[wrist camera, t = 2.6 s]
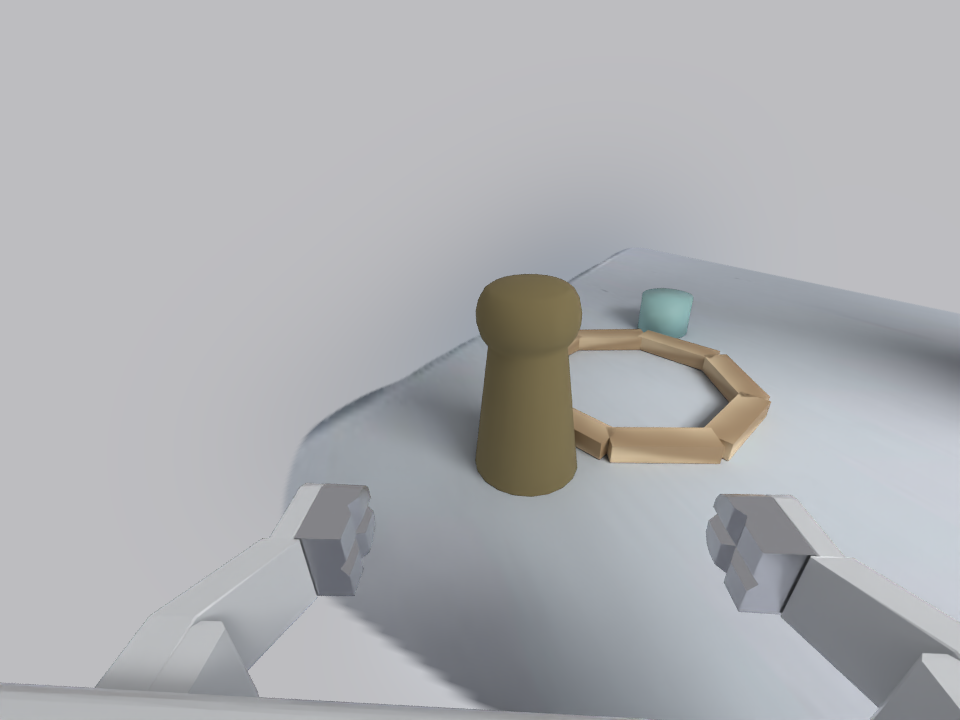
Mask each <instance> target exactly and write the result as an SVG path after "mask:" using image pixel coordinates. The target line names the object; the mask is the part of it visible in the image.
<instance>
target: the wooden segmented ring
mask: <svg viewBox="0 0 960 720" xmlns="http://www.w3.org/2000/svg"><path fill="white" fill-rule="evenodd" d="M578 350H643V351H646V352H649V353H652V354H655V355H658V356H661V357H664V358H667V359H670V360H673V361H676V362H679V363H682V364H685V365H688V366H691V367H694V368H697V369H700V370H702V371H703V372H704V373H705V374H706V376H707V377H708V378H709V379H710V380H711V381H712V383H713V384H714V385H715V386H716V387H717V389H718V390H719V391H720V392H721V393H722V394H723V396H724V397H725V398H726V399H727V400H728V401H729V404H728V405H727V406H726V407H725V408H724V409H723V410H721V411H720V412H719V413H718V414H717V415H716V416H715V417H714V418H713V419H712V420H711V421H710V422H709V423H708V424H707V425H706V426H705V427H704V428H663V427H611V426H609V425H607V424H605V423H603V422H601V421H599V420H597V419H595V418H593V417H591V416H589V415H587V414H584V413H582V412H580V411H578V410H576V409H574V408H573V421H574V434H575V446H576V447H578V448H579V449H581V450H583V451H585V452H586V453H588V454H590V455H592V456H594V457H595V458H597V459H599V460H600V459H601V458H602V457H603V456H605V455H606V454H608V458H609V461H610V463H707V464H720V462H721V458H723V459H725V460H728V461H729V460H730V458H731V457H732V456H733V455H734V454H735V453H736V451H737V450H738V449H739V448H740V447H741V445H742V444H743V443H744V442H745V441H746V440H747V438H748V437H749V436H750V435H751V434H752V433H753V431H754V430H755V429H756V428H757V427H758V426H759V424H760V423H761V422H762V421H763V420H764V418H765V417H766V415H767V412H768V409H769V406H770V403H771V401H769V398H770V396H769V395H767V394H766V393H765V392H764V391H763V390H762V389H761V388H760V387H759V386H758V385H757V384H756V383H755V382H754V381H753V380H752V379H751V378H750V377H749V376H748V375H747V374H746V373H745V372H744V371H743V370H742V369H741V368H740V367H739V366H738V365H737V364H736V363H735V362H734V361H733V360H732V359H731V358H730V357H729V356H728V355H719V354H720V351H717V350H714V349H711V348H707V347H704V346H700V345H697V344H694V343H690V342H687V341H683V340H680V339H677V338H673V337H670V336H667V335H663V334H660V333H656V332H653V331H650V330H647V331H646V332H644V333H643V331H642V330H641V329H606V330H579V332H578V335H577V337H576V338H575V339H574V341H573V342H572V343H571V344H570V346H569V347H568V355H570V354H572V353H574V352H576V351H578Z"/></svg>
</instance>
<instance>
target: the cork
mask: <svg viewBox="0 0 960 720" xmlns="http://www.w3.org/2000/svg"><path fill="white" fill-rule="evenodd" d="M581 320H582V309H581V303H580V298H579V295H578V294H577V292H576V290H575V288H574V287H573V286H572V285H570V284H569V283H567V282H566V281H564V280H562V279H559V278H557V277H553V276H548V275H538V274H521V275H512V276H506V277H503V278H500V279H497V280H495V281H493V282H492V283H490V284H489V285H487V286H486V287H485V288H484V290H483V292H482V293H481V295H480V297H479V299H478V303H477V307H476V322H477V326H478V329H479V332H480V335H481V337H482V339H483V341H484V342H485V343H486V344H487V345H488V351H487V360H486V369H485V378H484V387H483V396H482V405H481V414H480V423H479V432H478V441H477V450H476V459H475V461H476V465H477V470H478V472H479V473H480V475H481V476H482V477H483V479H484V480H485V481H486V482H487V483H489V484H490V485H492V486H493V487H495V488H496V489H497V490H500V491H503V492H506V493H509V494H512V495H518V496H530V497H532V496H539V495H546V494H550V493H552V492H554V491H556V490H559V489H561V488H563V487H564V486H565V485H566V484H567V483H568V482H569V481H571V480H572V479H573V476H574V474H575V472H576V469H577V460H576V447H575V434H574V421H573V408H572V395H571V382H570V369H569V356H568V347H569V346H570V344H571V343H572V342H573V341H574V339H575V338H576V337H577V335H578V332H579V329H580V326H581Z"/></svg>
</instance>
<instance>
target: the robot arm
mask: <svg viewBox="0 0 960 720" xmlns="http://www.w3.org/2000/svg"><path fill="white" fill-rule="evenodd" d="M370 498H371V496H370V492H369V488H368V487H367V486H363V485H343V484H314V483H305V484H304V485H302V486H301V487H300V488H299V490H298V491H297V493H296V494H295V496H294V498H293V499H292V501H291V503H290V504H289V506H288V508H287V509H286V511H285V513H284V514H283V516H282V517H281V519H280V521H279V522H278V524H277V526H276V527H275V529H274V531H273V532H272V534H271V536H270V537H269V538H262V539H261V540H259V541H258V542H256V543H255V544H254V545H252V546H250V547H249V548H248V549H246V550H245V551H243V552H242V553H240V554H239V555H238V556H236V557H234V558H233V559H232V560H230V561H229V562H227V563H226V564H224V565H223V566H221V567H220V568H218V569H217V570H215V571H214V572H213V573H211V574H210V575H208V576H207V577H205V578H204V579H202V580H201V581H200V582H198V583H197V584H195V585H194V586H192V587H191V588H189V589H188V590H186V591H185V592H184V593H182V594H180V595H179V596H178V597H176V598H175V599H173V600H172V601H171V602H169V603H167V604H166V605H165V606H163V607H161V608H160V609H159V610H157V611H156V612H154V613H153V614H151V615H150V616H149V617H148V618H147V620H146V621H145V622H144V624H143V625H142V626H141V628H140V629H139V630H138V632H137V633H136V634H135V635H134V637H133V638H132V639H131V641H130V642H129V643H128V645H127V646H126V647H125V649H124V650H123V651H122V652H121V654H120V655H119V656H118V658H117V659H116V660H115V662H114V663H113V664H112V666H111V667H110V668H109V670H108V671H107V672H106V673H105V675H104V676H103V677H102V679H101V680H100V681H99V683H98V684H97V685H96V687H95V688H85V687H67V686H50V685H31V684H15V683H0V720H655V719H638V718H620V717H603V716H585V715H567V714H549V713H531V712H513V711H495V710H477V709H459V708H439V707H422V706H405V705H386V704H368V703H350V702H333V701H314V700H298V699H279V698H262V697H261V698H260V697H259V695H258V692H257V689H256V687H255V685H254V684H253V682H252V679H251V678H250V675H249V674H248V672H247V671H248V670H249V669H250V668H251V666H252V665H253V664H254V663H255V662H256V661H257V660H258V659H259V658H260V657H261V656H262V655H263V654H264V653H265V652H266V651H267V650H268V649H269V648H270V647H271V646H272V644H274V643H275V641H276V640H277V639H278V638H279V637H280V636H281V635H282V634H283V633H284V632H285V631H286V630H287V629H288V628H289V627H290V626H291V625H292V624H293V623H294V622H295V621H296V620H297V619H298V618H299V616H300V615H301V614H302V613H303V612H304V611H305V610H306V609H307V608H308V607H309V606H310V605H311V604H312V603H313V602H314V601H315V600H316V599H317V596H355V593H356V590H357V587H358V584H359V581H360V578H361V575H362V572H363V570H364V568H363V563H362V558H363V557H364V556H365V555H366V554H368V553H369V552H370V549H371V545H372V542H373V537H374V531H375V518H374V512H373V510H372V509H371V508H369V507H368V504H369V501H370ZM713 507H714V509H715V511H716V512H717V515H715V516H714V517H713V518H712V519H710V520H709V521H708V525H707V529H706V541H707V546H708V550H709V553H710V555H711V557H712V560H713V562H714V564H716V565H717V566H718V567H719V568H721V569H722V570H723V571H724V572H726V576H725V579H724V584H725V586H726V588H727V590H728V592H729V594H730V596H731V598H732V600H733V602H734V604H735V606H736V608H737V610H738V612H752V613H766V614H781V617H782V618H783V619H784V620H785V621H786V622H787V623H788V624H789V625H790V626H791V627H792V628H793V629H794V630H796V631H797V632H798V633H799V634H800V635H801V636H802V637H803V638H804V639H805V640H806V641H807V642H808V643H810V644H811V645H812V646H813V647H814V648H815V649H816V650H817V651H818V652H819V653H820V654H821V655H822V656H824V657H825V658H826V659H827V660H828V661H829V662H830V663H831V664H832V665H833V666H834V667H835V668H836V669H837V670H839V671H840V672H841V673H842V674H843V675H844V676H845V677H846V678H847V679H848V680H849V681H850V682H851V683H853V684H854V685H855V686H856V687H857V688H858V689H859V690H860V691H861V692H862V693H863V694H864V695H865V696H867V697H868V698H869V699H870V700H871V701H872V702H873V703H874V704H875V705H876V706H877V707H878V710H877V711H876V712H875V713H874V715H873V716H872V717H871V718H870V720H960V622H959V621H957V620H955V619H954V618H952V617H950V616H949V615H947V614H945V613H944V612H942V611H940V610H939V609H937V608H936V607H934V606H932V605H931V604H929V603H927V602H926V601H924V600H922V599H921V598H919V597H917V596H916V595H914V594H913V593H911V592H909V591H908V590H906V589H904V588H903V587H901V586H899V585H898V584H896V583H894V582H893V581H891V580H889V579H888V578H886V577H885V576H883V575H881V574H880V573H878V572H876V571H875V570H873V569H871V568H870V567H868V566H866V565H865V564H863V563H861V562H860V561H858V560H857V559H855V558H850V557H845V556H844V555H843V553H842V552H841V551H840V550H839V549H838V547H837V546H836V545H835V544H834V543H833V541H832V540H831V539H830V538H829V537H828V535H827V534H826V533H825V532H824V531H823V529H822V528H821V527H820V526H819V525H818V523H817V522H816V521H815V520H814V518H813V517H812V516H811V515H810V514H809V512H808V511H807V510H806V509H805V508H804V506H803V505H802V504H801V503H800V502H799V500H798V499H796V498H795V497H793V496H792V495H750V494H720V495H719V496H718V497H717V498H716V500H715V503H714V506H713Z"/></svg>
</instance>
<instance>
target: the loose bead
mask: <svg viewBox="0 0 960 720" xmlns="http://www.w3.org/2000/svg"><path fill="white" fill-rule="evenodd" d="M692 302H693V296H692V295H691V294H689V293H687V292H684V291H680V290H675V289H666V288H657V289H650V290H646V291H644V292H643V295H642V302H641V309H640V316H639V322H638V329H641V330H642V331H643V333H644V332H646V331H647V330H650V331H653V332H656V333H660V334H663V335H667V336H670V337H673V338H680V337H683V336H684V335H685V334H686V332H687V327H688V322H689V317H690V312H691V307H692Z"/></svg>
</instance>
